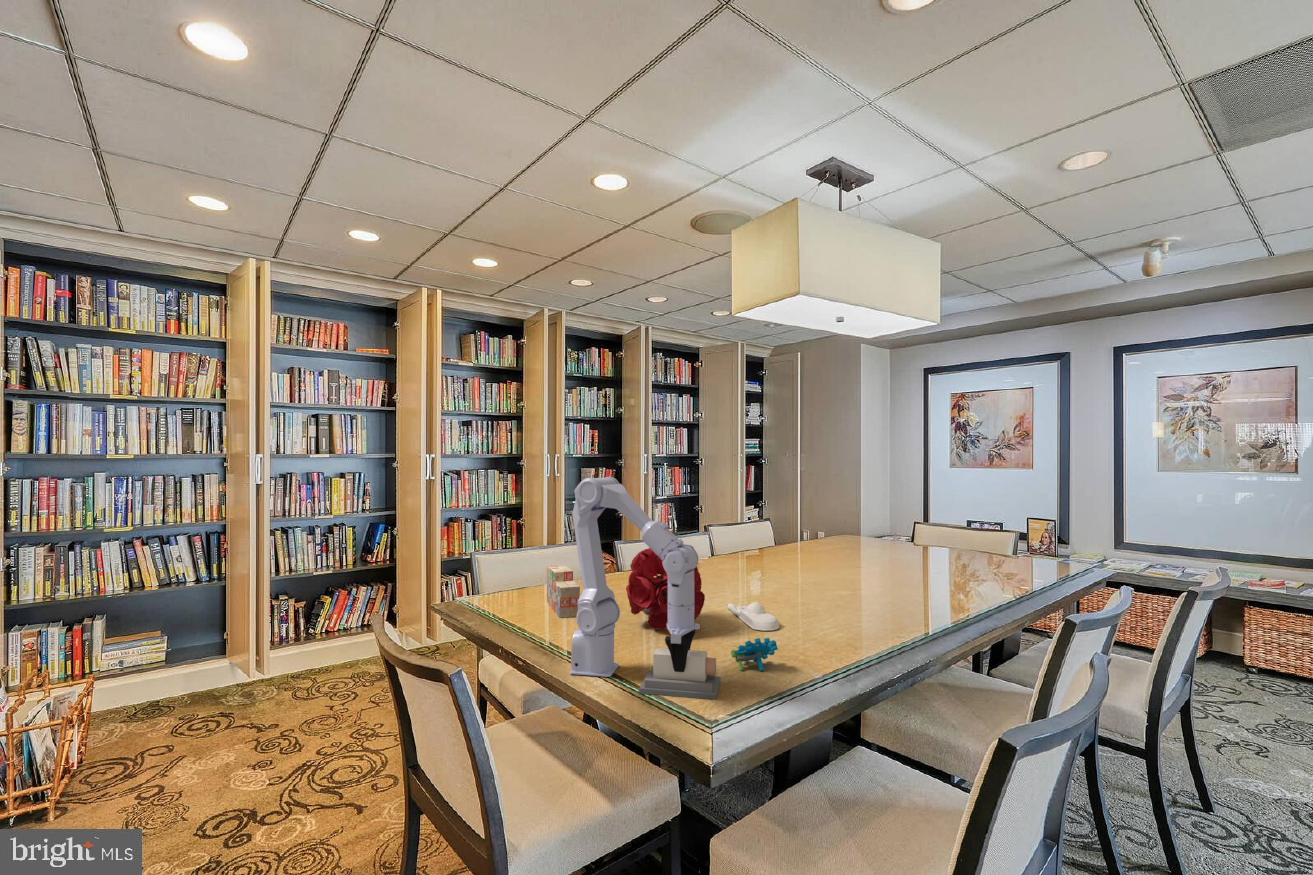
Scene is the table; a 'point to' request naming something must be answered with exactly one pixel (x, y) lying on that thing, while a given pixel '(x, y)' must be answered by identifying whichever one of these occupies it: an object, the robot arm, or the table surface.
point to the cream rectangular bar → (694, 670)
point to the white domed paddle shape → (755, 616)
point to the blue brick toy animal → (754, 652)
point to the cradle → (680, 687)
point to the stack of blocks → (562, 591)
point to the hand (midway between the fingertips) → (680, 667)
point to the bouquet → (655, 589)
